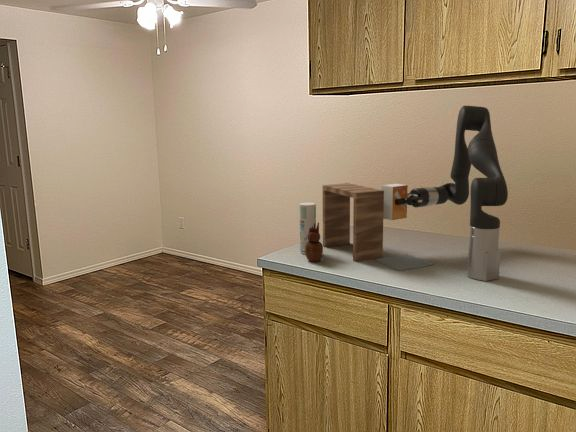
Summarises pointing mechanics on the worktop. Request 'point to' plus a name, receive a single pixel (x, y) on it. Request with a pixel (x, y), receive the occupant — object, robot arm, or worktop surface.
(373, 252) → the arch
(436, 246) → the worktop surface
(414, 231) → the worktop surface
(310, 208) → the spray can
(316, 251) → the wooden figurine
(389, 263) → the mat
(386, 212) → the small box
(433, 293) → the worktop surface
